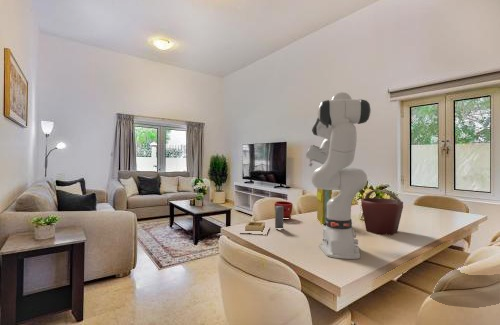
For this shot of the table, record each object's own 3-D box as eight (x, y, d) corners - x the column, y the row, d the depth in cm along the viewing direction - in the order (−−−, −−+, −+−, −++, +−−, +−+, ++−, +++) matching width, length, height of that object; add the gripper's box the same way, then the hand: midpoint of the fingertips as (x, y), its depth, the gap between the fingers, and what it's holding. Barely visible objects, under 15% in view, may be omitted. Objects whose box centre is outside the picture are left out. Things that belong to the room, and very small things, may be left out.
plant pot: (272, 220, 178) (272, 203, 178) (276, 216, 191) (276, 200, 191) (291, 221, 175) (291, 204, 175) (293, 217, 187) (293, 201, 187)
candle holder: (266, 235, 142) (266, 228, 142) (239, 233, 145) (239, 226, 145) (269, 227, 158) (269, 221, 158) (245, 226, 161) (245, 220, 161)
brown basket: (411, 237, 138) (411, 192, 138) (371, 237, 138) (371, 192, 138) (386, 226, 162) (386, 187, 162) (353, 226, 162) (353, 187, 162)
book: (332, 224, 165) (332, 187, 165) (321, 224, 165) (322, 187, 165) (324, 219, 182) (325, 184, 182) (315, 218, 182) (315, 184, 182)
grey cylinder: (283, 230, 152) (283, 207, 152) (274, 230, 153) (274, 207, 153) (283, 228, 157) (283, 206, 156) (275, 227, 157) (275, 205, 157)
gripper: (310, 142, 157) (301, 160, 154) (342, 153, 148) (333, 173, 145) (311, 146, 162) (302, 164, 159) (342, 157, 154) (333, 176, 151)
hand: (317, 168), depth 152 cm, fingers open, 8 cm apart
